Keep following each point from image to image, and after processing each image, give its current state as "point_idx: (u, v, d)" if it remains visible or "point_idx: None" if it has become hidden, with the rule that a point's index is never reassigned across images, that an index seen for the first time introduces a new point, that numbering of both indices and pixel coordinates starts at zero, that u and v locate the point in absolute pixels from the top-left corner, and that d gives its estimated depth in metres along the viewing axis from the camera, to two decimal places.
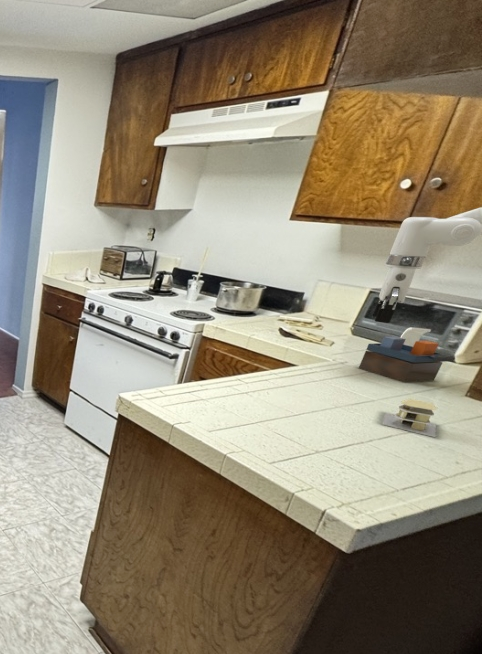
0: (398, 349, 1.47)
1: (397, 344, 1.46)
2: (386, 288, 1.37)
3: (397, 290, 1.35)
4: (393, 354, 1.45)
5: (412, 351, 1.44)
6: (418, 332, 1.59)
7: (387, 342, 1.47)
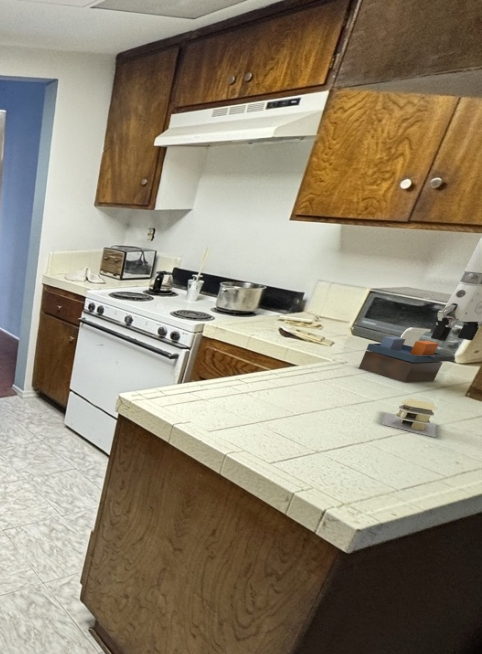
0: (398, 349, 1.47)
1: (397, 344, 1.46)
2: (446, 304, 1.33)
3: (452, 307, 1.30)
4: (393, 354, 1.45)
5: (412, 351, 1.44)
6: (418, 332, 1.59)
7: (387, 342, 1.47)
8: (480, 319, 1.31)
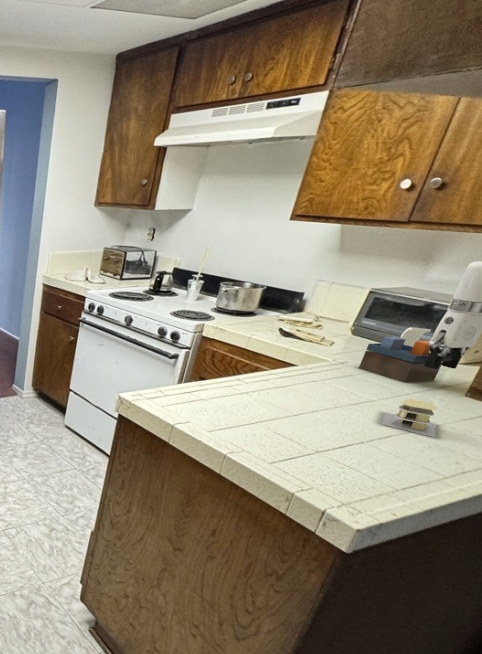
0: (398, 349, 1.47)
1: (397, 344, 1.46)
2: (435, 331, 1.35)
3: (440, 336, 1.34)
4: (393, 354, 1.45)
5: (412, 351, 1.44)
6: (418, 332, 1.59)
7: (387, 342, 1.47)
8: (469, 345, 1.33)
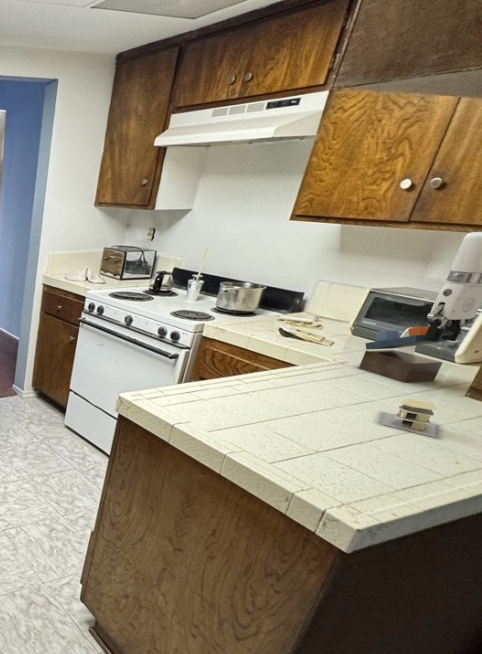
0: None
1: (392, 335, 1.47)
2: (434, 303, 1.35)
3: (439, 308, 1.33)
4: (393, 342, 1.45)
5: None
6: None
7: (382, 335, 1.48)
8: (468, 317, 1.33)
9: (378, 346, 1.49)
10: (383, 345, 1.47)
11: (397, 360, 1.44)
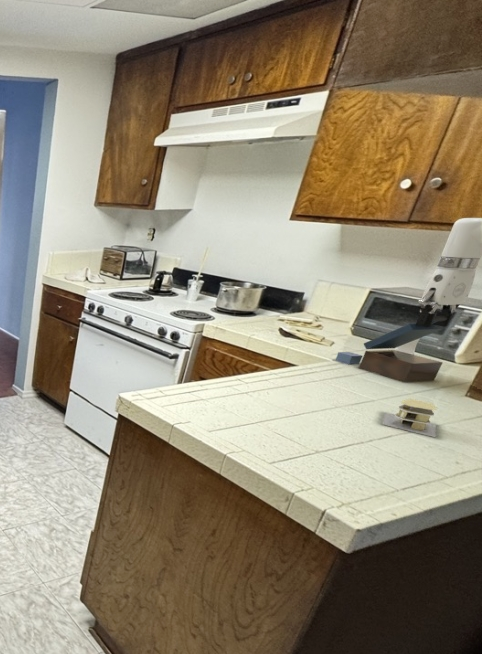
0: None
1: None
2: (425, 289, 1.37)
3: (430, 294, 1.35)
4: (390, 336, 1.46)
5: None
6: None
7: (345, 359, 1.59)
8: (458, 302, 1.35)
9: (377, 343, 1.49)
10: (381, 341, 1.48)
11: (397, 360, 1.44)
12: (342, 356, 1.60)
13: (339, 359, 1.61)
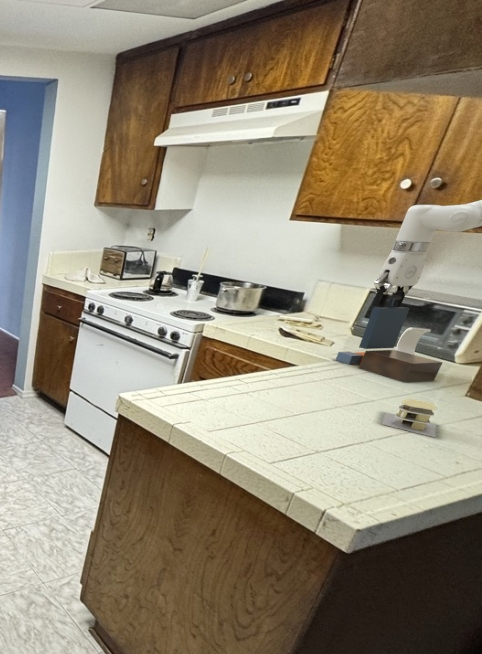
0: None
1: None
2: (381, 271, 1.48)
3: (384, 275, 1.46)
4: (370, 325, 1.50)
5: None
6: (418, 332, 1.59)
7: (345, 359, 1.59)
8: (410, 283, 1.46)
9: (368, 338, 1.51)
10: (369, 334, 1.51)
11: (397, 360, 1.44)
12: (342, 356, 1.60)
13: (339, 359, 1.61)
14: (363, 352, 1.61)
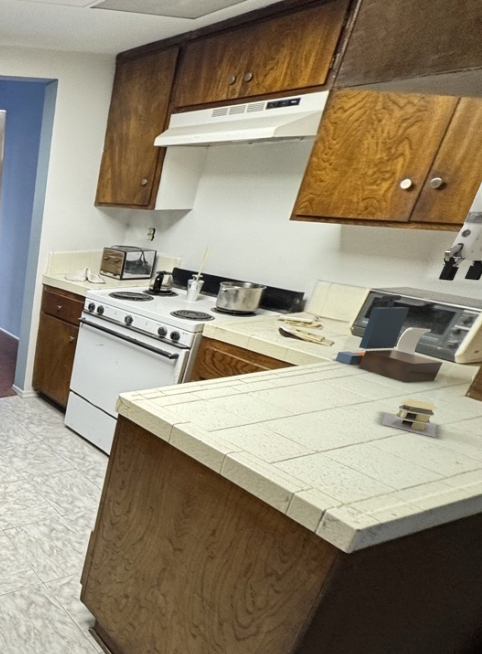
0: None
1: None
2: (452, 245, 1.38)
3: (458, 246, 1.35)
4: (370, 325, 1.50)
5: None
6: (418, 332, 1.59)
7: (345, 359, 1.59)
8: None
9: (368, 338, 1.51)
10: (369, 334, 1.51)
11: (397, 360, 1.44)
12: (342, 356, 1.60)
13: (339, 359, 1.61)
14: (363, 352, 1.61)
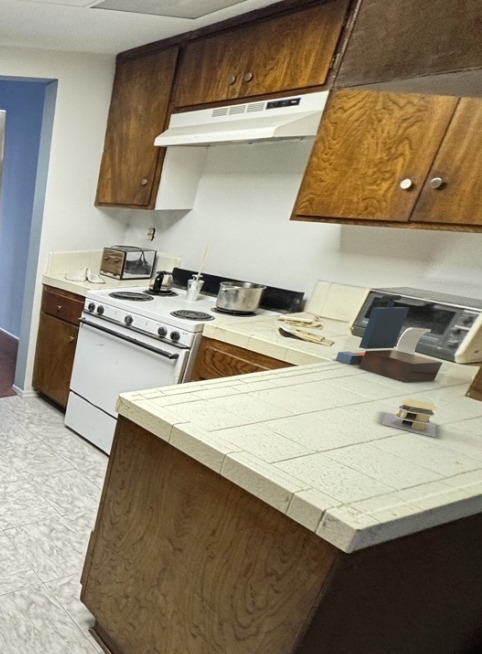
0: None
1: None
2: None
3: None
4: (370, 325, 1.50)
5: None
6: (418, 332, 1.59)
7: (345, 359, 1.59)
8: None
9: (368, 338, 1.51)
10: (369, 334, 1.51)
11: (397, 360, 1.44)
12: (342, 356, 1.60)
13: (339, 359, 1.61)
14: (363, 352, 1.61)
